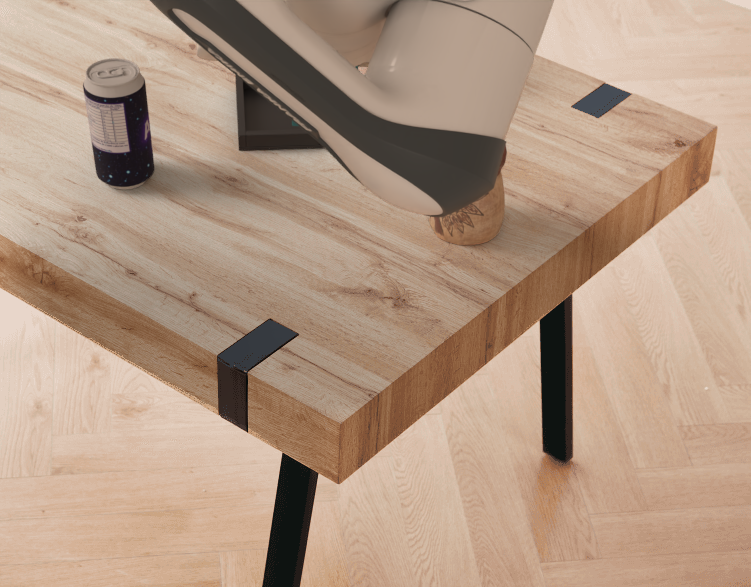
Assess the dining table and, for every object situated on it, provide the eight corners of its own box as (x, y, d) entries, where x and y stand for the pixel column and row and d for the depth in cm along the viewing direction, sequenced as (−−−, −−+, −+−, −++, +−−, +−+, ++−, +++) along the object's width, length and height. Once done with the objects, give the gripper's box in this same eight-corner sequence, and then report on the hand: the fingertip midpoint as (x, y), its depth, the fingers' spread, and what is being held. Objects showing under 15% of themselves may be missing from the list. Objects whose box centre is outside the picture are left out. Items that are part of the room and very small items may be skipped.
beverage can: (160, 188, 106) (149, 82, 98) (102, 198, 105) (86, 91, 97) (148, 157, 110) (137, 52, 102) (92, 166, 109) (76, 60, 101)
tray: (317, 87, 122) (317, 72, 121) (326, 148, 113) (327, 132, 112) (235, 89, 121) (235, 74, 120) (238, 150, 112) (238, 135, 111)
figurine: (440, 195, 108) (451, 90, 100) (509, 210, 106) (526, 106, 98) (420, 236, 103) (430, 130, 95) (492, 253, 101) (509, 147, 93)
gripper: (478, -39, 76) (449, 21, 90) (186, -44, 74) (202, 18, 88) (480, 48, 76) (450, 96, 90) (187, 45, 74) (202, 94, 88)
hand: (325, 57), depth 89 cm, fingers closed on tissue box, 5 cm apart
